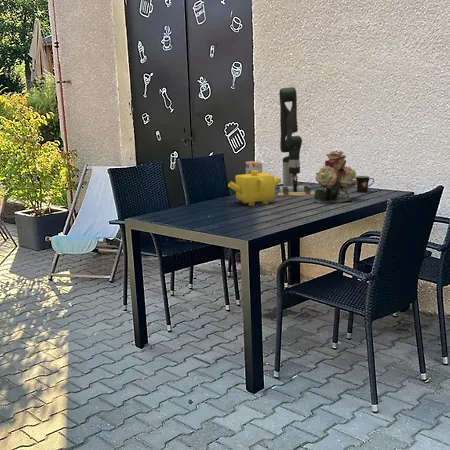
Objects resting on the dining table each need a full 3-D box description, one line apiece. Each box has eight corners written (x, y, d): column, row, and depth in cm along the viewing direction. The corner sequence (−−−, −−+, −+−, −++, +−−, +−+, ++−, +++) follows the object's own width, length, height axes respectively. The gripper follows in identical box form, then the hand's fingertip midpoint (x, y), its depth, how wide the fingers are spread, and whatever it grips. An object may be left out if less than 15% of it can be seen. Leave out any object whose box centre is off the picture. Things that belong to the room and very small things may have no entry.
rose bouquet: (313, 203, 351) (312, 153, 345) (317, 195, 379) (317, 149, 373) (357, 203, 345) (357, 153, 339) (358, 195, 373) (358, 148, 367)
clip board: (277, 194, 390) (277, 186, 388) (313, 193, 389) (313, 185, 388) (278, 197, 379) (278, 189, 378) (316, 195, 378) (315, 187, 377)
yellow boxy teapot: (270, 196, 382) (269, 165, 378) (290, 203, 355) (290, 170, 351) (220, 201, 371) (218, 170, 367) (237, 209, 344) (235, 175, 340)
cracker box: (246, 191, 406) (245, 161, 402) (253, 190, 409) (252, 160, 404) (255, 194, 394) (254, 163, 389) (263, 193, 396) (262, 162, 392)
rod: (280, 193, 394) (280, 187, 393) (279, 192, 398) (279, 185, 397) (310, 192, 393) (310, 186, 392) (309, 191, 397) (309, 184, 396)
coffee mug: (355, 192, 383) (355, 177, 381) (356, 190, 391) (356, 175, 389) (373, 192, 380) (373, 177, 378) (374, 190, 388) (374, 175, 386)
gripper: (287, 165, 399) (288, 190, 402) (289, 167, 385) (290, 193, 388) (298, 164, 399) (299, 189, 402) (301, 167, 385) (301, 192, 388)
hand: (294, 191), depth 395 cm, fingers closed on rod, 4 cm apart
